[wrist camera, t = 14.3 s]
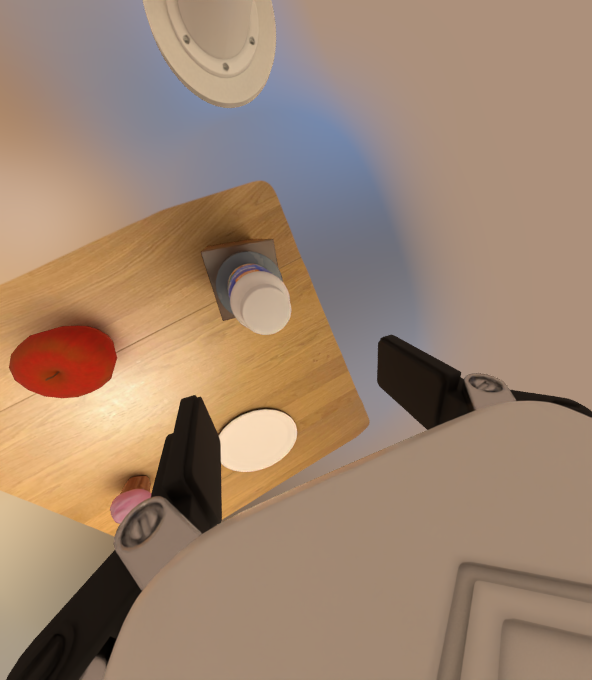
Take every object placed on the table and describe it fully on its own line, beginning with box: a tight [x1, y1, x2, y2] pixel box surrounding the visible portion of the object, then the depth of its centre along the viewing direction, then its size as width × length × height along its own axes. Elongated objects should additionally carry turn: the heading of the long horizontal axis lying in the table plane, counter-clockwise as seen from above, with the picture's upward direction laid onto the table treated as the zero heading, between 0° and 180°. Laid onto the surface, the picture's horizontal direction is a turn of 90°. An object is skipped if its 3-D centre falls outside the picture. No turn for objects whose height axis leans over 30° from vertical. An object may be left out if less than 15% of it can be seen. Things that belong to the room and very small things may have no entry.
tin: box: [216, 251, 283, 315], centre depth 28 cm, size 8×8×4 cm
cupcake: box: [110, 476, 151, 524], centre depth 57 cm, size 9×9×10 cm
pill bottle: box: [228, 264, 291, 335], centre depth 22 cm, size 5×5×10 cm
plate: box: [219, 409, 297, 472], centre depth 68 cm, size 25×25×1 cm
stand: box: [201, 239, 278, 321], centre depth 38 cm, size 9×9×20 cm
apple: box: [9, 326, 117, 398], centre depth 38 cm, size 12×12×14 cm
